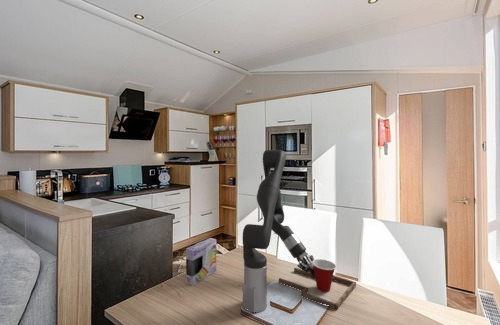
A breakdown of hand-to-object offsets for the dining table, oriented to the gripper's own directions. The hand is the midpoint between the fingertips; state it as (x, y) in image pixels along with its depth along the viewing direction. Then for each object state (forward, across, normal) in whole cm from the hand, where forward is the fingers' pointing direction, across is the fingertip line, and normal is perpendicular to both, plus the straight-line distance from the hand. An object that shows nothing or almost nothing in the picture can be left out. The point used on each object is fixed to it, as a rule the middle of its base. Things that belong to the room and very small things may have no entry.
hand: (317, 277), depth 121 cm
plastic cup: (+6, 0, +1) cm, 6 cm away
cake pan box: (-32, -28, +38) cm, 57 cm away
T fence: (+2, 0, +4) cm, 5 cm away
